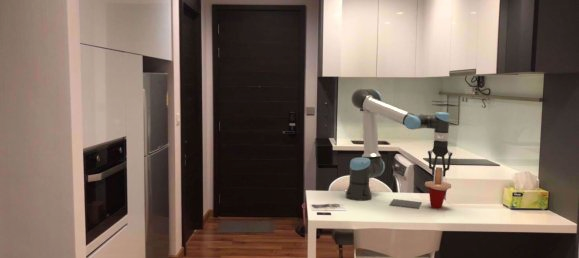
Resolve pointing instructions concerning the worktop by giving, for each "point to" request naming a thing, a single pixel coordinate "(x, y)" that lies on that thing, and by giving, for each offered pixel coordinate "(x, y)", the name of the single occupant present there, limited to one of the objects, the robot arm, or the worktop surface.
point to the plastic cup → (437, 197)
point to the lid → (438, 181)
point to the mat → (405, 203)
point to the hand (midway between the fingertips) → (438, 181)
